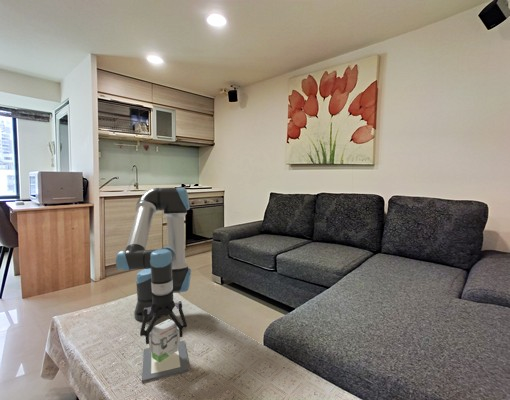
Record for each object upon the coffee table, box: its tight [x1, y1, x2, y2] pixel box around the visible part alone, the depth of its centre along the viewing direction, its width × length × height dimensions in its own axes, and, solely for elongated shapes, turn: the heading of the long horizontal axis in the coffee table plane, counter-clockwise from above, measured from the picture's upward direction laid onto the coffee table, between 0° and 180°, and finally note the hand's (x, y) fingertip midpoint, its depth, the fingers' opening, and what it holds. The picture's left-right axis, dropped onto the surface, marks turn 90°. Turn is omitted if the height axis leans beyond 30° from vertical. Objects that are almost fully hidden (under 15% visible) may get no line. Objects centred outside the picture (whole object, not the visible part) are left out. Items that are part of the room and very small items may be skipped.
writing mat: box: [141, 340, 190, 383], centre depth 104 cm, size 18×16×1 cm
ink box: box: [151, 318, 178, 362], centre depth 103 cm, size 9×5×12 cm, turn 143°
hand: (164, 347), depth 103 cm, fingers closed on ink box, 9 cm apart
